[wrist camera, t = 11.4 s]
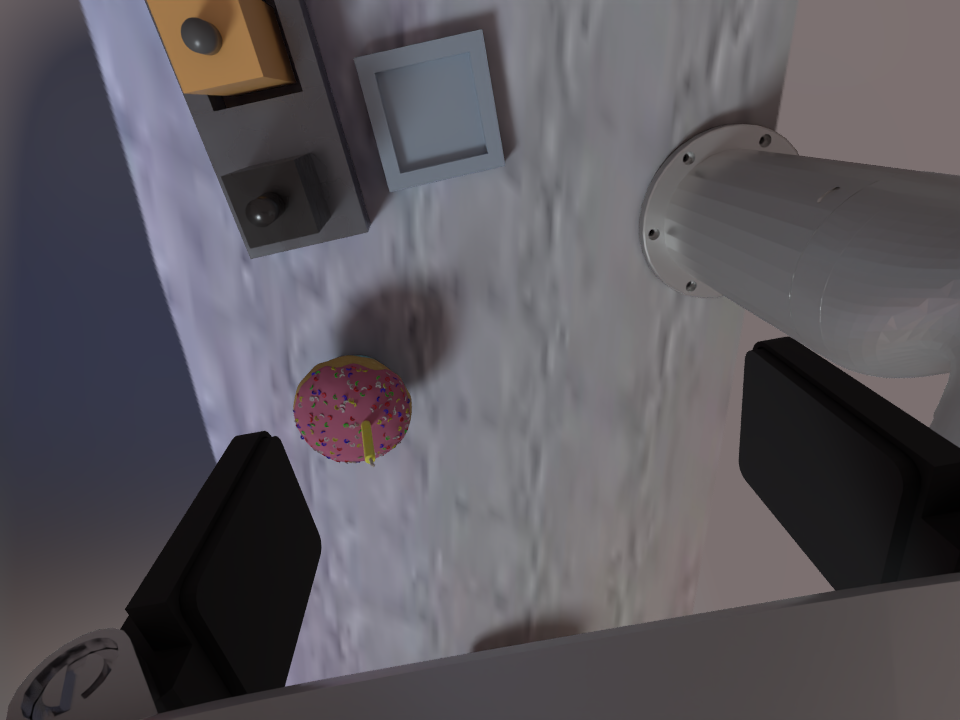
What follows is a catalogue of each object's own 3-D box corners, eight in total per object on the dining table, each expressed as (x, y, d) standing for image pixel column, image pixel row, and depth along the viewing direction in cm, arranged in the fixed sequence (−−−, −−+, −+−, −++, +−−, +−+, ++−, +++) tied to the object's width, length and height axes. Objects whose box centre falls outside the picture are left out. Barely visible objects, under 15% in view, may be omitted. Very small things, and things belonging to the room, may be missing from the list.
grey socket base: (153, -20, 30) (43, -74, 21) (289, -51, 30) (237, -117, 21) (260, 249, 37) (212, 294, 28) (370, 224, 37) (356, 261, 28)
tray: (480, 31, 33) (482, 29, 32) (502, 164, 36) (505, 165, 35) (355, 59, 33) (353, 57, 32) (390, 189, 36) (389, 192, 35)
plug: (273, 8, 31) (222, -27, 23) (296, 82, 33) (256, 75, 25) (207, 22, 31) (132, -8, 23) (234, 96, 33) (173, 92, 25)
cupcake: (391, 320, 41) (382, 397, 30) (426, 409, 44) (430, 506, 34) (286, 353, 41) (240, 442, 30) (331, 439, 45) (304, 544, 34)
